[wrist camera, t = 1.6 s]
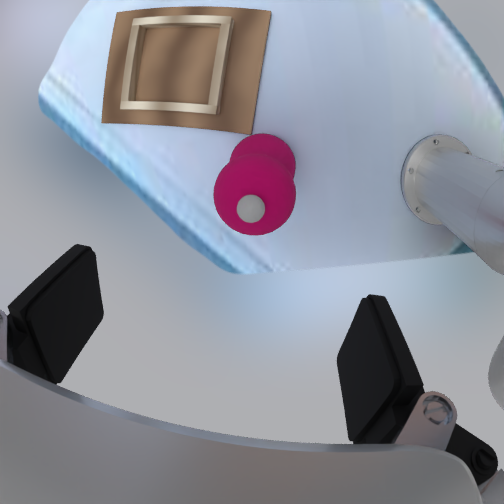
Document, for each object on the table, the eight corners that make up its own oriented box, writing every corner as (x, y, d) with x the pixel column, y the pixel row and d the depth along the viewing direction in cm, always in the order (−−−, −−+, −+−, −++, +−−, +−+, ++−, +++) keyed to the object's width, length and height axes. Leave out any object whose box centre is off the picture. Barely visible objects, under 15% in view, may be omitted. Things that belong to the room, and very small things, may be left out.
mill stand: (271, 14, 27) (270, 5, 24) (251, 133, 35) (248, 136, 32) (120, 14, 28) (108, 8, 25) (105, 122, 35) (92, 124, 32)
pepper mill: (290, 190, 38) (301, 271, 20) (233, 185, 38) (192, 260, 20) (296, 134, 34) (317, 160, 16) (236, 129, 35) (191, 150, 17)
